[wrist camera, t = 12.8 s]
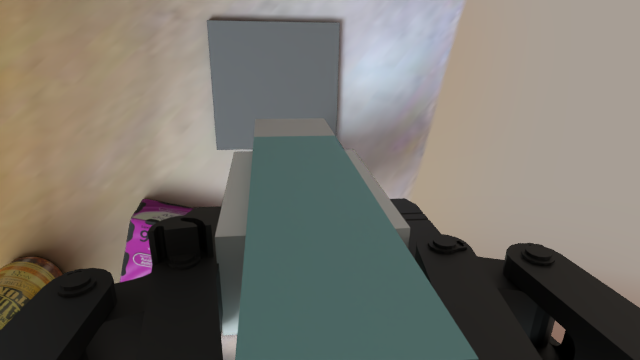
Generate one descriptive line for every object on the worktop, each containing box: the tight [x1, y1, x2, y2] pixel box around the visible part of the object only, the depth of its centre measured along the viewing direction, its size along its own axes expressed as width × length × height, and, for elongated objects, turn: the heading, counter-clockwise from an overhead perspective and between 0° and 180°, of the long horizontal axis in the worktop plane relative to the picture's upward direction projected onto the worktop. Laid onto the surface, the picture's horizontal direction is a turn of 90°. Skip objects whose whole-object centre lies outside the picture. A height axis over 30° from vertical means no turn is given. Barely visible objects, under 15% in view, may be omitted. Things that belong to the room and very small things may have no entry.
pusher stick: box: [235, 118, 479, 360], centre depth 12 cm, size 4×3×14 cm
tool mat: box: [207, 20, 340, 150], centre depth 40 cm, size 12×12×1 cm
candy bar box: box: [120, 199, 222, 331], centre depth 44 cm, size 11×5×16 cm
